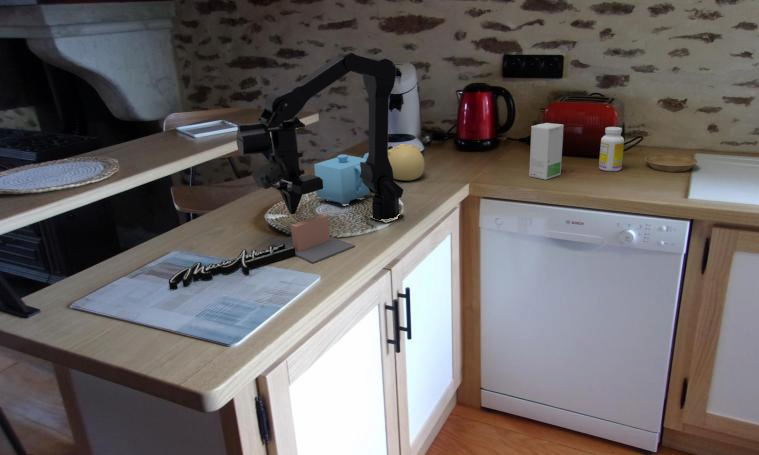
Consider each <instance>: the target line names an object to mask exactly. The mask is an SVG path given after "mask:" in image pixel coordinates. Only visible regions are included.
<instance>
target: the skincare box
mask: <svg viewBox="0 0 759 455" xmlns="http://www.w3.org/2000/svg"><path fill="white" fill-rule="evenodd" d="M564 127H565V125H564V124H561V123H551V122H545V123H539V124H536V125H531V129H530V130H531V131H530V150H529V151H530V152H529V171H528V176H529V177H530V178H536V179H540V180H545V181H547V180H549V179H553V178H554V177H558V176H561V172H562V159H563V158H562V157H563V156H562V155H563V143H564V142H563V141H564Z"/></svg>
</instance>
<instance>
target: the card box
mask: <svg viewBox="0 0 759 455" xmlns="http://www.w3.org/2000/svg"><path fill="white" fill-rule="evenodd" d="M290 230H291V236H292V241H293V247H295V250H296V251H298V252H300V251H302V250H305V249H307V248H310V247H313V246H315V245H318V244H321V243H323V242H326V241H328V240H330V237H329V236H330V227H329V216H328V215H326V214H324V213H323V214H319V215H316V216H313V217H310V218H307V219H304V220H302V221H298V222H295V223H291V224H290Z"/></svg>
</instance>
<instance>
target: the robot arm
mask: <svg viewBox="0 0 759 455" xmlns="http://www.w3.org/2000/svg"><path fill="white" fill-rule="evenodd" d="M350 72H352V73H355V74H359V75H362V80H363V85H364V88H365V90H366V94H367V96H368V153H369V154H368V158H367V160H366V162H360V167H361V174H360V178H362V182H363V184H364V185H365V186H366V187H368V188H369V190H370V192H371V193H370V194H374V195H373V196H372V202H371V208H372V209H371V210H372V215H373V218H375V219H378V220H381V219H389V218H394V217H396V216H397V215H398V214H400V215H399V216H398V219H397V220H399V219H403V218H404V217H405V216H404V214H403V213H400V199H401V198H402V196H403V194H404V189H403V188H402V187H401V186H400V185H399V184H398V183H397V182H395V179H394V176H393V169H392V166H391V164H390V161H389V159H388V150H389V106H390V105H389V103H390V102H389V101H390V100H389V99H390V96H391V94H392V91H393V90H394V87H395V85H396V84H395V83H396V78H397V67H396V64H394V62H393V61H392V60H390V59H388V58H382V57H381V58H380V57H374V56H373V57H370V58H369V57H365V56H361V55H358V54H355V53H353V52H349V51H342V52H339V53H338V54H337V55H336V57H334V58H332V59H331V60H329V61H327V62H326V63H325V64H323V65H322V66H320V67H319V68H317V69H316V70H314V71H313V72H312V73H310V74H308V75H307V76H305V77H303V78H302V79H301V80H299V81H298V82H295V83H294V84H289V85H287V86H284V87H281V88H278V89H277V90H274V91H272V92H270V93H269V94H268V95H266V97H265V101H264V108H263V110H262V111H261V114H260V115H259V118H258V119H257V122H254V123H253V122H252V123H238V124H237V125H236V126H237V127H236V128H237V130H236V138H235V140H236V141H235V142H236V146H237V147H236V148H237V150H238V153H239V156H242V157H245V156H249V155H257V154H263V153H267V152H268V150H271V147H272V153H269V156H268V162H267V163H265V164H262V165H261V166H260V167H258V168H257V169H256V170H254V171H253V172H251V176H252V179H253V180H254V183H255V184H256V187H259V188H262V189H264V190H268V189H270V188H272V189H274V190H275V191H277V192H279V193H280V195H281V197H282V199H283V201H284V204H285V206H286V208H287V210H288V213H289V214H290V215H295V214H297V213H296V212H297V210H298V207H299V205H300V202H301V199H302V197H303V196H304V195H307V194H310V193H313V192H317V190H321V189H323V180H322V179H321V178H320V177H318V176H315V174H314V175H313V174H307V175H305V169H303V168H301V163H300V158H303V157H304V154H303V151H299V143H298V134H297V133H298V132H297V129H302V128H305V127H306V124H305V123H303V122H302V121H301V120H300V118H299V117H297V114H299V113H300V112H301V111H302V110H303V109H304V107H305V105H306V104H307V103H308V102H309V101H310V99H311V98H314V96H316V95H318V94H319V93H320V92H321V91H323V90H325V89H327V87H329V86H331V85H332V84H334V83H336V82H337V81H338V80H340V79H341V78H343V77H344V76H346V75H347V74H349V73H350ZM302 175H303V176H302Z"/></svg>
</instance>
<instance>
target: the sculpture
mask: <svg viewBox="0 0 759 455" xmlns="http://www.w3.org/2000/svg"><path fill="white" fill-rule="evenodd" d="M420 150H421V147H419V146H416V145H414V144H406V143H401V144H398V145H397V146H395V147H392V148H390V149H388V159H389V161H390V164H391V166H392V169H393V176H394V180H398V181H413V180H417V179H419V178H421V176H422V174H423V173H424V170H425V158H424V155H423V154H422V152H421V151H420Z"/></svg>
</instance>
